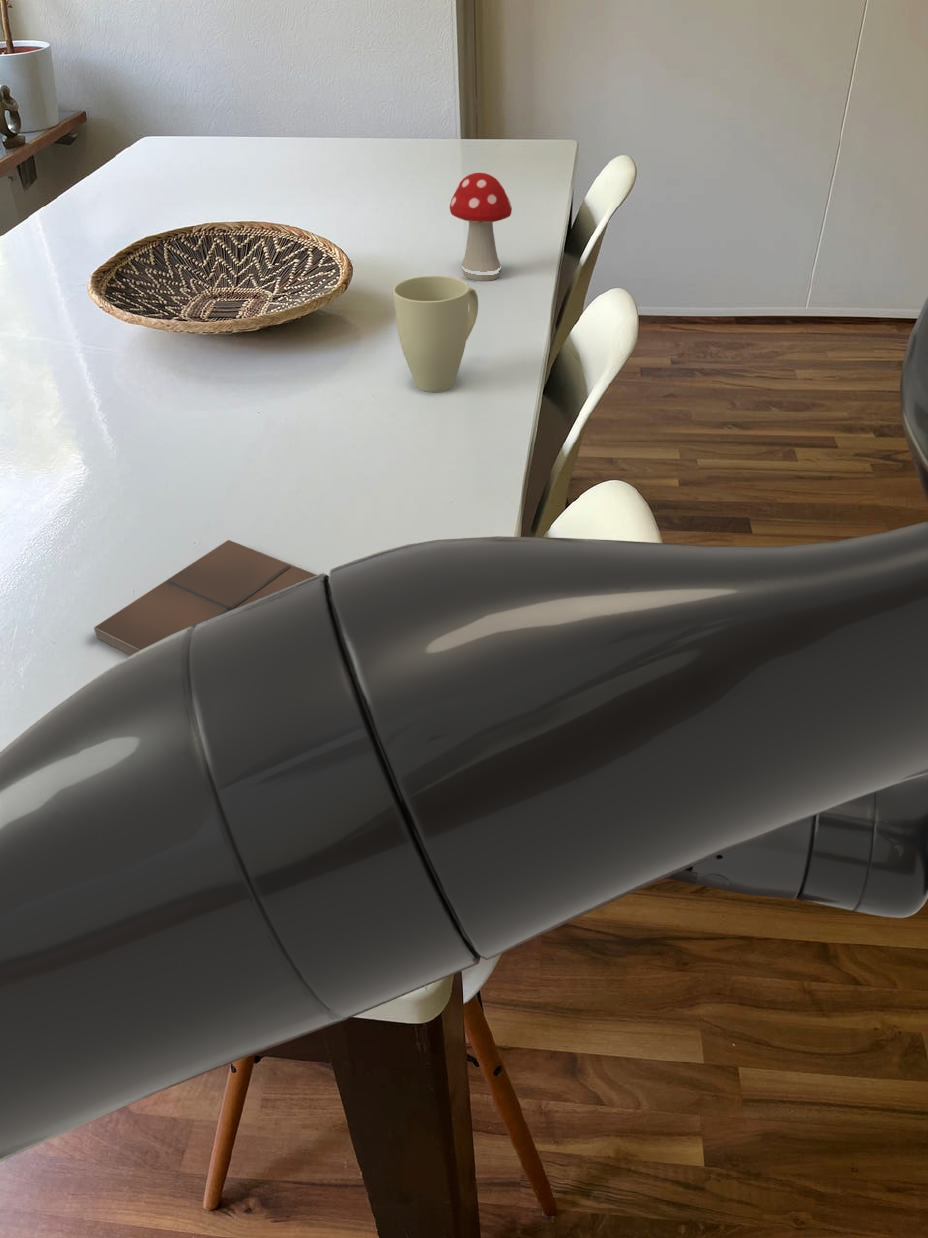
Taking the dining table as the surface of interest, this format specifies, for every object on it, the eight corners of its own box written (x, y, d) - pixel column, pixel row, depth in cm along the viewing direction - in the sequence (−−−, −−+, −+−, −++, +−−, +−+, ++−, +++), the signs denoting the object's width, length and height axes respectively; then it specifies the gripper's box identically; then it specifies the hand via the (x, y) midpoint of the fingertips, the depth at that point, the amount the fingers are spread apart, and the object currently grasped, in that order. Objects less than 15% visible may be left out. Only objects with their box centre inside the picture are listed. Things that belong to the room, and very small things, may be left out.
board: (233, 707, 77) (230, 694, 76) (96, 638, 84) (92, 626, 83) (362, 603, 87) (360, 590, 86) (230, 549, 94) (228, 537, 93)
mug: (478, 399, 119) (476, 300, 112) (396, 399, 120) (389, 302, 112) (479, 362, 128) (477, 269, 121) (402, 363, 128) (397, 270, 121)
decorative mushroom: (523, 274, 155) (524, 172, 146) (487, 289, 150) (486, 184, 141) (475, 261, 160) (474, 162, 151) (439, 275, 155) (435, 173, 146)
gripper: (730, 668, 54) (445, 625, 58) (708, 875, 43) (359, 805, 47) (713, 764, 58) (450, 719, 62) (689, 973, 48) (373, 902, 51)
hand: (411, 756), depth 54 cm, fingers open, 8 cm apart
